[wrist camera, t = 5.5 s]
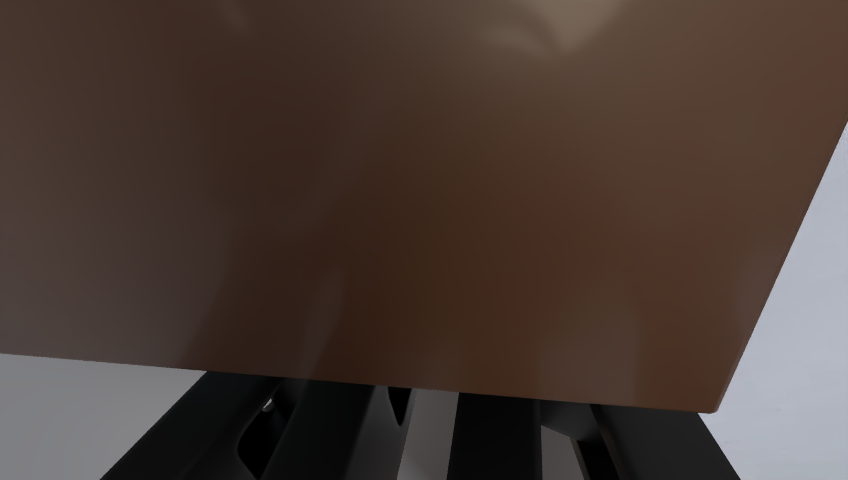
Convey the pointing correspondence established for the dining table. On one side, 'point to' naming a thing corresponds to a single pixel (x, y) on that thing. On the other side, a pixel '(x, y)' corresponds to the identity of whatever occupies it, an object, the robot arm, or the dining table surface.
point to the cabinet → (413, 187)
